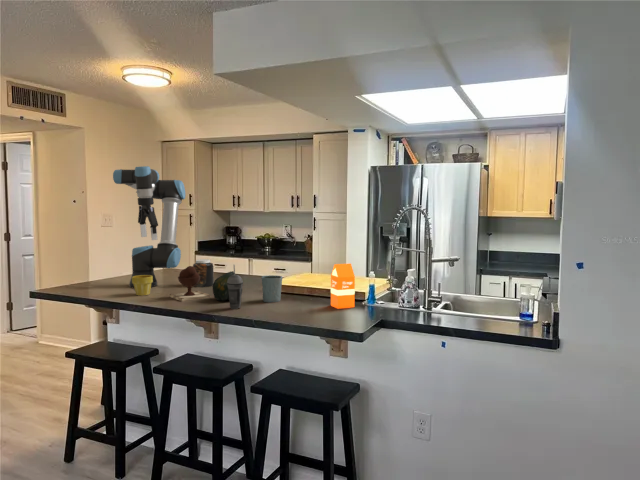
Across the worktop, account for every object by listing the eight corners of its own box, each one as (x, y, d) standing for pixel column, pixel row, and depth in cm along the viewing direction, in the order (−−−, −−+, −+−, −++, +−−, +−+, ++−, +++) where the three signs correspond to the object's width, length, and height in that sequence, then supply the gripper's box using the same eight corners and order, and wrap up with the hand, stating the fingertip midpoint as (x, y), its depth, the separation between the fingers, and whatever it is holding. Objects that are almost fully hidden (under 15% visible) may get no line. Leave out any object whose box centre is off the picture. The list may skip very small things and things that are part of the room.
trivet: (169, 296, 249) (169, 294, 249) (197, 293, 259) (196, 290, 258) (182, 301, 237) (181, 298, 237) (210, 297, 247) (209, 294, 247)
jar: (210, 287, 279) (210, 261, 278) (190, 287, 279) (190, 261, 278) (215, 283, 290) (215, 259, 289) (196, 283, 291) (195, 258, 290)
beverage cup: (229, 310, 217) (229, 266, 216) (225, 307, 224) (224, 264, 222) (245, 308, 221) (245, 265, 219) (240, 305, 227) (240, 263, 226)
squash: (201, 289, 239) (218, 268, 235) (220, 286, 253) (236, 266, 248) (219, 310, 235) (236, 289, 230) (237, 306, 249) (253, 285, 244)
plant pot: (127, 295, 252) (127, 277, 252) (142, 292, 262) (141, 274, 261) (143, 297, 248) (143, 278, 248) (157, 293, 258) (157, 275, 257)
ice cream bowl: (203, 293, 253) (202, 264, 252) (195, 297, 242) (195, 267, 241) (183, 292, 254) (183, 264, 253) (175, 296, 243) (174, 267, 242)
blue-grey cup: (257, 300, 240) (257, 276, 239) (273, 297, 247) (272, 274, 246) (271, 303, 233) (271, 278, 232) (286, 300, 240) (286, 276, 239)
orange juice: (330, 305, 229) (330, 263, 227) (347, 304, 232) (347, 262, 231) (337, 308, 222) (337, 265, 220) (354, 307, 225) (355, 264, 224)
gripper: (128, 196, 253) (133, 236, 257) (147, 199, 234) (151, 242, 238) (143, 195, 257) (147, 234, 261) (162, 197, 239) (166, 240, 243)
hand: (149, 238), depth 250 cm, fingers open, 13 cm apart
